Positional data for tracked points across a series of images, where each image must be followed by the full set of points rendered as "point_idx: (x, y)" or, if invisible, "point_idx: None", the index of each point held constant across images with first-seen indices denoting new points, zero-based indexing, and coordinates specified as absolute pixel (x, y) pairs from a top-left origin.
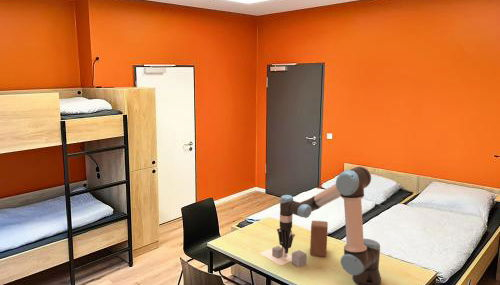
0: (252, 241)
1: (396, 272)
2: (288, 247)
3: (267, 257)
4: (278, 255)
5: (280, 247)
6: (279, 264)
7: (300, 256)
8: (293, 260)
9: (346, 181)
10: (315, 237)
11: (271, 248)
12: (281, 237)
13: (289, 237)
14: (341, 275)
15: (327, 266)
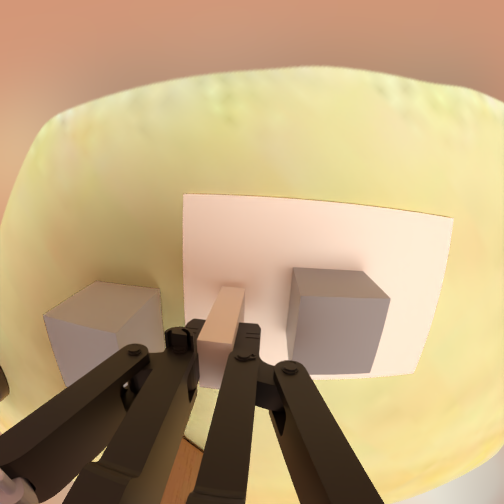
0: None
1: (10, 425)
2: (116, 354)
3: (369, 213)
4: (294, 284)
5: (331, 368)
6: (205, 197)
7: (46, 325)
8: (127, 300)
9: None
10: None
11: (424, 343)
12: (299, 469)
13: (8, 456)
14: (3, 345)
15: (58, 381)
